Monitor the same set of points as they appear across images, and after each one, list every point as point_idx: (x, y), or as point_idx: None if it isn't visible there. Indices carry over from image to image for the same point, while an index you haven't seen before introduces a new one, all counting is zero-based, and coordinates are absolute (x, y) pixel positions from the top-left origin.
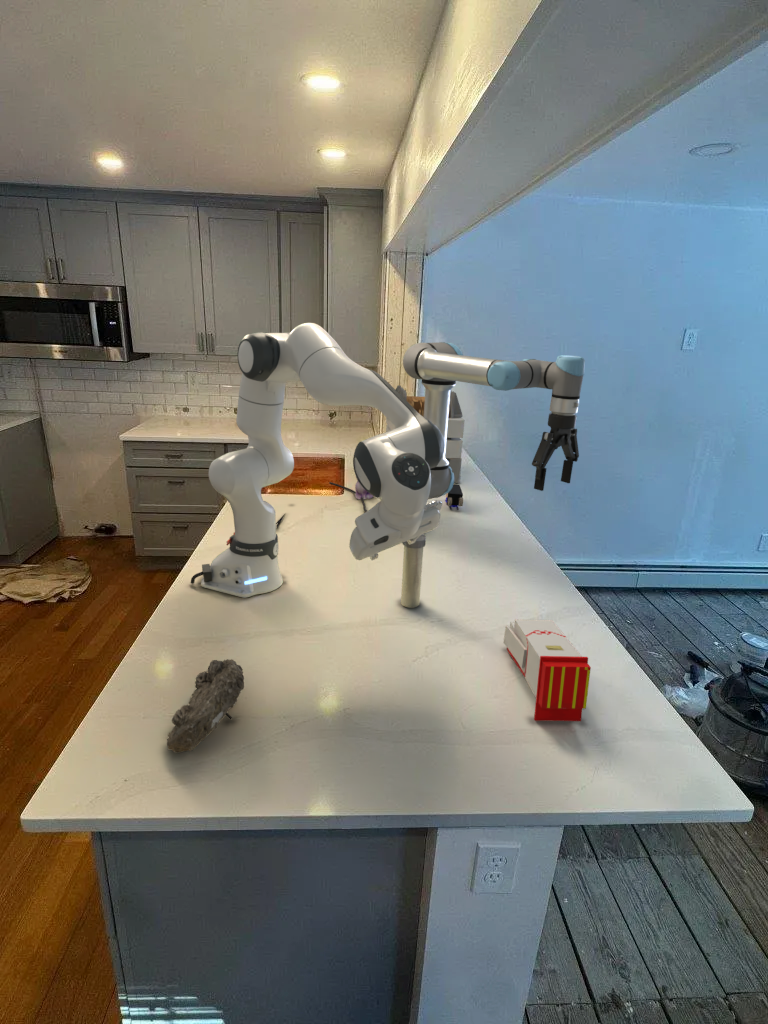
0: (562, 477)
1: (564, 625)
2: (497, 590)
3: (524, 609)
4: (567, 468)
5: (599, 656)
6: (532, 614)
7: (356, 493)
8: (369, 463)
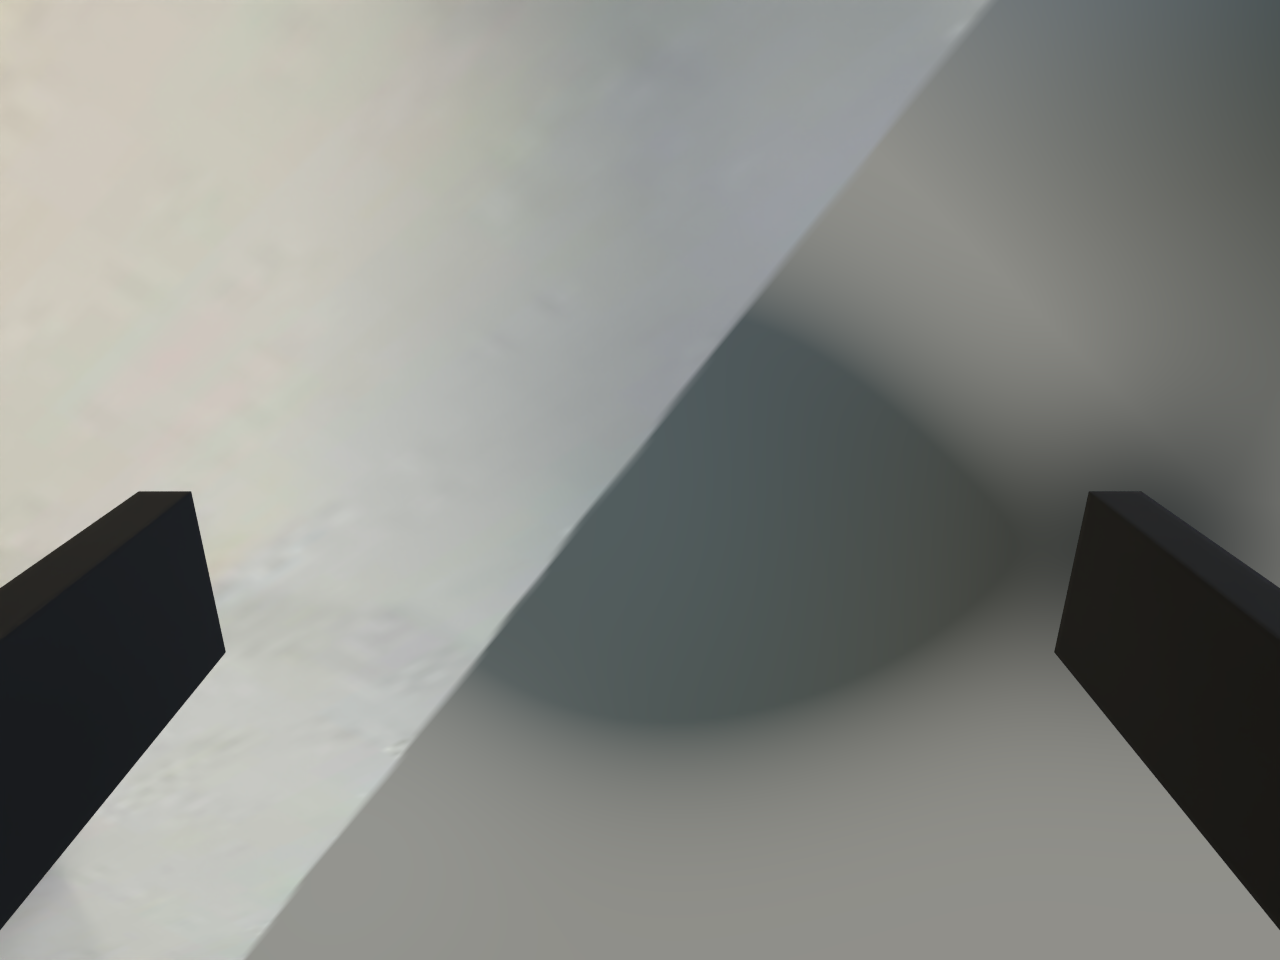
0: (1126, 560)
1: (257, 693)
2: (199, 279)
3: None
4: (1267, 795)
5: (201, 869)
6: None
7: None
8: None
